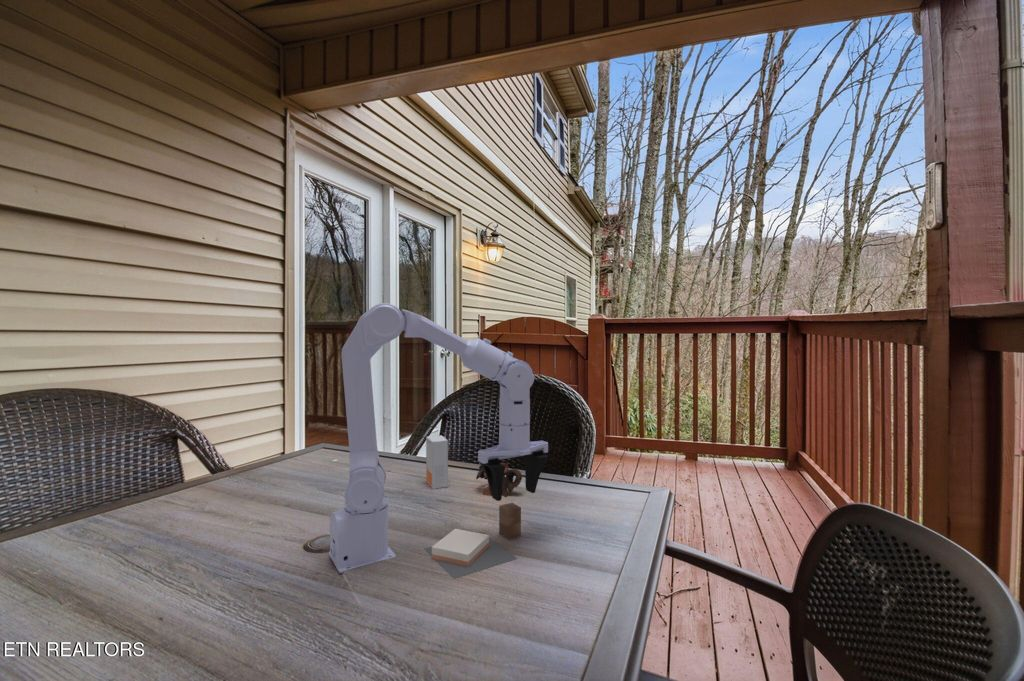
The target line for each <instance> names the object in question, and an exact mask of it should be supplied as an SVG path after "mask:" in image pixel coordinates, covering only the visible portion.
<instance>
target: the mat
mask: <svg viewBox="0 0 1024 681" xmlns="http://www.w3.org/2000/svg"><path fill="white" fill-rule="evenodd" d="M480 534H485V533H483V532H480ZM424 550H425V552H426V553H427V554H429V555H430V557H432V546H430V547H429V546H428V547H426V548H424ZM517 559H518V557H517V556H515V555H514V554H512V552H510V551H508V549H506V548H504V547H503V546H502V545H500V544H499V543H497V542H496V541H494V540H493V539H492V538H490V537H489V547H488V548H487V549H486V550H485V551H484V552H483V553H482V554H481V555H480V556H479V557H478V558H477V559H476V560H475V561H474V562H473V563H472V564H471V565H470V566H469V567H467V566H462V565H458V564H453V563H449V562H445V561H440V560H436V559H434V561H435V562H436V563H438V564H439V566H441V567H442V569H444V570H445V571H446V572H447V573H448V574H449V575H450V577H451V578H453V579H454V580H455V579H458V578H461V577H465V576H468V575H471V574H475V573H477V572H481V571H484V570H487V569H490V568H493V567H497V566H500V565H502V564H506V563H508V562H511V561H515V560H517Z"/></svg>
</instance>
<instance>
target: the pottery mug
mask: <svg viewBox="0 0 1024 681" xmlns="http://www.w3.org/2000/svg"><path fill="white" fill-rule="evenodd" d="M501 464H502V465H504V466H505V470H504V475H503V481H502V497H505V498H506V497H507V494H508V492H509V493H512V492H513V490H514V488H517V487H519V485H520V484H521V482H522V479H523V477H522V472H521V471H520V470H518V469H516V468H512V469H509V464H507V463H506V462H501ZM478 470H479V471H478V472H477V475H476V477H475V480H478V479H479V478H480V479H484V480H487V483H488V486H486V487H482V488H481V492H482V495H483V496H487V497H488V496H489V497H492V493H491V488H490V485H489V481H488V479H487V476H486V474H485V472H484V470H483V468H482V466H481V465H479V467H478ZM514 476H515V479H514Z"/></svg>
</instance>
